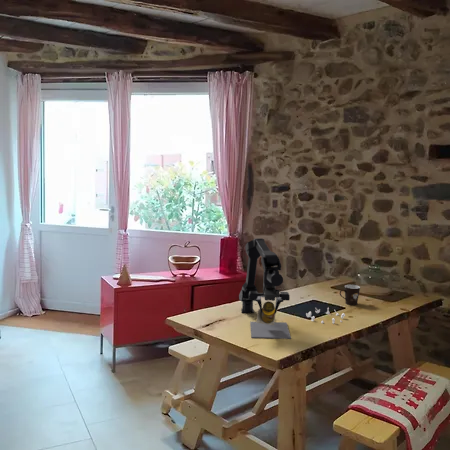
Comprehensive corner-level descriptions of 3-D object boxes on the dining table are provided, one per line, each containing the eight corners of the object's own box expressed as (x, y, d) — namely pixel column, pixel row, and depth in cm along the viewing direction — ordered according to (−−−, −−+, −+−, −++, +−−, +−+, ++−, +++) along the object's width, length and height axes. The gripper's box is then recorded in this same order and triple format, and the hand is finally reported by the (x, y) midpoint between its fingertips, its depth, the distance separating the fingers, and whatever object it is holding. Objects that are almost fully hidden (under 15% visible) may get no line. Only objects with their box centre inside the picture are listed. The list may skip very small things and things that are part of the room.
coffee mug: (357, 302, 300) (358, 285, 298) (360, 306, 291) (361, 288, 290) (337, 301, 301) (338, 284, 300) (339, 305, 292) (340, 287, 291)
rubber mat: (250, 322, 259) (250, 321, 259) (286, 323, 258) (286, 322, 258) (251, 337, 237) (251, 336, 237) (290, 339, 236) (290, 337, 236)
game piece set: (346, 315, 275) (346, 308, 274) (341, 326, 256) (342, 319, 256) (310, 311, 281) (310, 304, 281) (302, 322, 263) (302, 314, 262)
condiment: (273, 325, 247) (275, 313, 238) (256, 322, 248) (256, 310, 239) (275, 312, 252) (277, 299, 242) (258, 309, 253) (259, 297, 243)
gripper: (249, 284, 234) (248, 318, 236) (291, 285, 234) (290, 319, 236) (249, 278, 245) (248, 310, 247) (288, 279, 245) (287, 312, 247)
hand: (268, 313), depth 244 cm, fingers closed on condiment, 6 cm apart
